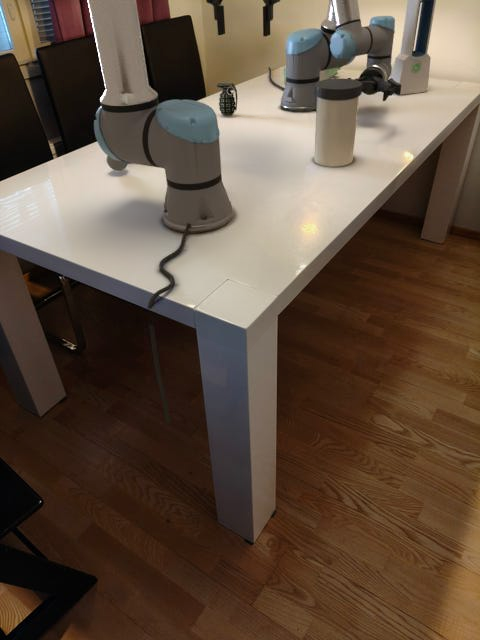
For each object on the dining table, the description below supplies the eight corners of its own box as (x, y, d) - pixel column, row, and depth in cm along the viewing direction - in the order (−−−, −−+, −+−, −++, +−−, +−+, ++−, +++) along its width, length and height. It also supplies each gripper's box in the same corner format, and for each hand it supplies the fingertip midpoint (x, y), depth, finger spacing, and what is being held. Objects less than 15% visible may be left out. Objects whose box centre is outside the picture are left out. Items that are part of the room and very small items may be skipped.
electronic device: (397, 95, 179) (411, -2, 161) (387, 90, 185) (399, -4, 166) (427, 91, 181) (444, -5, 163) (416, 87, 187) (431, -7, 169)
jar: (324, 150, 137) (329, 79, 126) (359, 156, 132) (366, 82, 121) (307, 162, 130) (310, 88, 119) (342, 169, 126) (348, 92, 114)
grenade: (217, 117, 168) (214, 86, 162) (221, 112, 172) (219, 82, 166) (235, 117, 166) (233, 86, 160) (239, 113, 171) (238, 82, 165)
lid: (327, 87, 127) (328, 76, 126) (368, 91, 122) (369, 80, 121) (306, 97, 120) (306, 86, 119) (349, 102, 115) (350, 91, 113)
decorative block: (306, 54, 217) (347, 57, 207) (305, 70, 221) (345, 73, 211) (275, 65, 201) (318, 69, 191) (275, 82, 205) (317, 87, 195)
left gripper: (294, -71, 114) (292, 33, 127) (203, -65, 124) (210, 31, 137) (281, -70, 109) (280, 38, 122) (187, -64, 119) (196, 36, 132)
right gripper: (413, 93, 149) (404, 110, 133) (332, 91, 157) (315, 108, 141) (416, 65, 144) (408, 80, 129) (333, 65, 152) (315, 80, 137)
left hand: (243, 35), depth 129 cm, fingers open, 13 cm apart
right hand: (359, 95), depth 135 cm, fingers open, 13 cm apart
